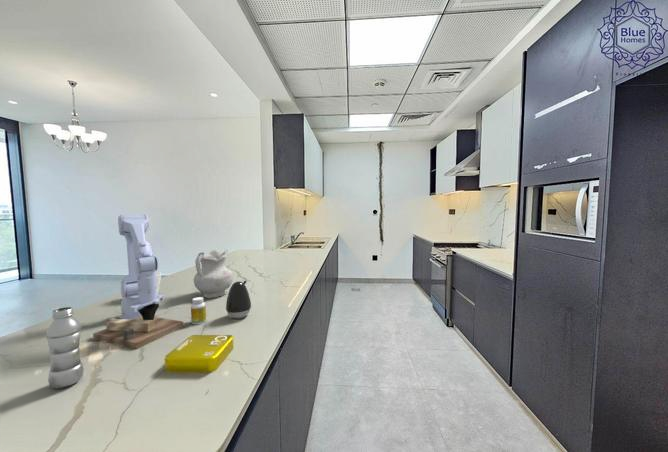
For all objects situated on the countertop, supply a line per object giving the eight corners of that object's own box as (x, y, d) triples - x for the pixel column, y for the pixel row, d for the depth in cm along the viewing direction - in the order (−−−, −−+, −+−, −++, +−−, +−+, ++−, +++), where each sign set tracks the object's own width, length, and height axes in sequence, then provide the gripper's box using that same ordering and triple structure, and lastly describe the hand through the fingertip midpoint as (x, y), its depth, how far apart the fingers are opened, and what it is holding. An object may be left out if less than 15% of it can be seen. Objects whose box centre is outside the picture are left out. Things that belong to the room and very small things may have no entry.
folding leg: (104, 330, 97) (103, 320, 97) (111, 326, 100) (111, 316, 100) (148, 331, 96) (147, 321, 95) (154, 328, 99) (154, 317, 98)
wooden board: (93, 339, 95) (92, 325, 95) (143, 319, 112) (143, 308, 112) (136, 348, 88) (135, 334, 88) (183, 326, 105) (183, 314, 105)
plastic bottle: (64, 377, 73) (60, 305, 72) (91, 375, 74) (86, 304, 72) (40, 393, 67) (35, 314, 65) (69, 391, 67) (65, 313, 66)
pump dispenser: (256, 313, 118) (255, 279, 117) (241, 322, 108) (240, 285, 107) (237, 310, 121) (236, 277, 121) (220, 319, 112) (219, 283, 111)
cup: (157, 293, 149) (156, 271, 148) (166, 297, 142) (165, 274, 141) (132, 298, 139) (130, 275, 139) (140, 303, 132) (139, 278, 132)
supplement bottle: (200, 325, 106) (199, 301, 106) (188, 324, 107) (187, 300, 107) (208, 319, 111) (208, 296, 111) (197, 318, 112) (196, 296, 112)
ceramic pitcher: (220, 304, 134) (223, 254, 132) (182, 301, 134) (184, 252, 133) (237, 291, 155) (239, 249, 154) (204, 289, 155) (206, 246, 154)
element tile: (191, 346, 90) (191, 332, 90) (235, 347, 89) (235, 333, 89) (161, 373, 75) (161, 357, 75) (214, 374, 74) (213, 357, 74)
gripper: (142, 295, 92) (143, 333, 92) (170, 283, 106) (172, 317, 107) (122, 294, 92) (124, 333, 93) (154, 283, 107) (155, 316, 107)
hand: (149, 324), depth 100 cm, fingers closed
